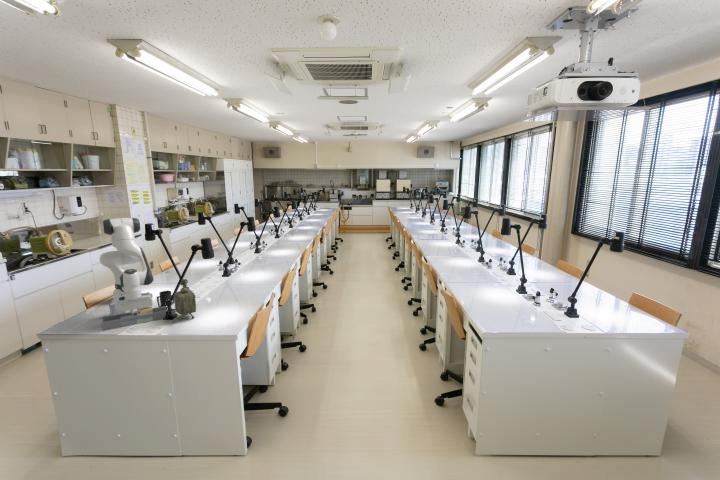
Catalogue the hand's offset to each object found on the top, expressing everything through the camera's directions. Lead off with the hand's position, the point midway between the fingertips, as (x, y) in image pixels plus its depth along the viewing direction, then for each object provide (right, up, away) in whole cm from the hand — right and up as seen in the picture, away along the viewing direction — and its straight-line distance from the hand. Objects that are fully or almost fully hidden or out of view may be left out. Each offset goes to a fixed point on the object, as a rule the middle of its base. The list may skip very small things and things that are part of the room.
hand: (135, 315), depth 214 cm
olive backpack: (+29, -3, +8) cm, 30 cm away
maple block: (+5, -1, +4) cm, 6 cm away
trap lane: (0, -4, +1) cm, 4 cm away
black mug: (+6, -1, +22) cm, 23 cm away
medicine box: (-19, -3, +11) cm, 22 cm away
